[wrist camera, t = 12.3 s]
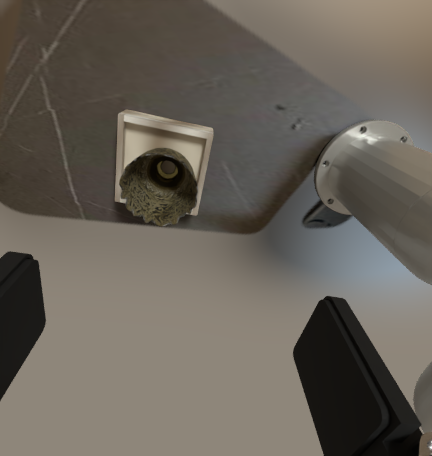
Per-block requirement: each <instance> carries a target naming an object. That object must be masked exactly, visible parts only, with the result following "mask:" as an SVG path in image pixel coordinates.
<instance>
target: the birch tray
mask: <svg viewBox="0 0 432 456" xmlns="http://www.w3.org/2000/svg"><path fill="white" fill-rule="evenodd" d="M213 135H214V134H213V128H210V127H205V126H200V125H196V124H191V123H187V122H182V121H177V120H173V119H168V118H164V117H159V116H155V115H150V114H145V113H141V112H136V111H132V110H125V111H123V112H121V113H119V114H118V132H117V158H116V184H115V202H121V203H126V199H121V192H122V189H121V187H120V185H119V180H120V178H121V175H122V174H123V172H124V171H125V170H124V169H125V167H126V166H127V165H128V164H129V163H131V162H132V161H133V160H134V159H136V158H137V157H139V156H140V155H142V154H143V153H145V152H147V151H149V150H151V149H155V148H170V149H173V150H175V151H177V152H179V153H181V154H182V155H183V156H184V157H185V158H186V159H187V160H188V161H189V163H190V164H191V166H192V168H193V171H194V174H195V178H196V182H197V186H198V193H197V205H196V207H195V208H193V209H192V212H191V215H197V213H198V208H199V203H200V199H201V194H202V189H203V184H204V179H205V174H206V169H207V164H208V159H209V154H210V149H211V144H212V140H213ZM161 168H162V170H163V172H165V173H167V174H171V173H173V172H174V170H175V165H174V163H172V162H170V161H164V162H163V163H162V165H161ZM186 214H188V213H186Z"/></svg>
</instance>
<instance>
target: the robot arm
mask: <svg viewBox="0 0 432 456" xmlns="http://www.w3.org/2000/svg"><path fill="white" fill-rule="evenodd" d="M360 128H361V130H360ZM324 161H325V163H323V162H324ZM314 173H315V174H314V183H315V189H316V191H317V194H318V196H319V197H320V199H321V200H322V202H323V203H324V204H325V205H326V206H327V207H329V208H330V209H331V210H333V211H335V212H338V213H341V214H346V215H353V216H354V217H355V218H356V219H357V220H359V222H360V223H361V224H362V225H363V226H364V227H366V228H367V230H368V231H369V232H371V234H373V235H374V236H375V237H376V238H377V239H378V240H379V241H380V242H381V243H382V244H383V245H384V246H385V247H386V248H387V249H388V250H389V251H390V252H391V253H392V254H393V255H394V256H395V257H396V258H397V259H398V260H399V261H400V262H401V263H402V264H403V265H404V266H405V267H406V268H407V269H408V270H409V271H410V272H412V273H413V274H414V275H415V276H416V277H418V278H419V279H421V280H423V281H424V282H426V283H428V284H431V285H432V153H430V152H428V151H425V150H422V149H419V148H417V147H414V143H413V141H412V139H411V137H410V135H409V134H408V133H407V132H406V130H404V129H403V128H402V127H400V126H399V125H397V124H394V123H392V122H389V121H385V120H367V121H361V122H359V123H356V124H353V125H351V126H349V127H348V128H346V129H344V130H342V131H341V132H340V133H339V134H337V135H336V136H335V137H334V138H333V139H332V140H331V141H330V142H329V143H328V144H327V145H326V147H325V148H324V150H323V151H322V153H321V155H320V157H319V159H318V161H317V164H316V168H315V172H314ZM45 322H46V319H45V311H44V303H43V294H42V287H41V278H40V270H39V263H38V261H37V260H34V259H33V256H32V255H30V254H24V253H17V252H7V253H6V254H5V255H3V256H2V257H1V258H0V400H1V399H2V397H3V395H4V394H5V392H6V390H7V389H8V387H9V386H10V384H11V382H12V381H13V379H14V377H15V376H16V374H17V373H18V371H19V369H20V368H21V366H22V364H23V363H24V361H25V359H26V358H27V356H28V355H29V353H30V351H31V350H32V348H33V346H34V345H35V343H36V341H37V340H38V338H39V336H40V335H41V333H42V331H43V329H44V327H45ZM293 357H294V360H295V364H296V367H297V370H298V373H299V377H300V380H301V383H302V386H303V389H304V393H305V396H306V399H307V402H308V405H309V409H310V412H311V415H312V418H313V422H314V425H315V428H316V431H317V435H318V438H319V441H320V444H321V447H322V451H323V454H324V456H432V362H431V363H430V364H429V365H428V367H427V368H426V369H425V370H424V372H423V373H422V374H421V376H420V377H419V379H418V381H417V383H416V386H415V390H414V398H413V401H414V408H415V412H416V414H415V413H414V411H413V410H412V408H411V406H410V405H409V403H408V401H407V400H406V398H405V396H404V395H403V393H402V391H401V390H400V388H399V387H398V385H397V383H396V382H395V380H394V378H393V377H392V375H391V374H390V372H389V370H388V369H387V367H386V366H385V364H384V362H383V360H382V359H381V357H380V355H379V354H378V352H377V351H376V349H375V347H374V346H373V344H372V343H371V341H370V339H369V337H368V336H367V334H366V333H365V331H364V329H363V328H362V326H361V324H360V323H359V321H358V320H357V318H356V316H355V315H354V313H353V311H352V310H351V308H350V306H349V305H348V303H347V302H346V300H345V299H343V298H337V297H331V296H326V297H325V298H324V299H323V300H320V301H319V302H318V304H317V306H316V308H315V310H314V312H313V314H312V315H311V317H310V319H309V321H308V323H307V325H306V327H305V329H304V330H303V333H302V334H301V336H300V338H299V339H298V341H297V343H296V345H295V347H294V351H293ZM420 426H421V428H422V430H423V432H424V434H422V433H421V431H420V429H419V427H420Z"/></svg>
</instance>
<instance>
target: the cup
mask: <svg viewBox="0 0 432 456" xmlns="http://www.w3.org/2000/svg"><path fill="white" fill-rule="evenodd" d="M164 161H170V162H172V163H174V165H175V170H174V172H173V173H171V174H167V173H165V172H163V170H162V168H161V165H162V163H163V162H164ZM124 170H125V171H124V172H123V174H122V175H121V178H120V180H119V185H120V187H121V189H122V192H121V199H126V208H127V209H128V210H129V211H132V213H133V216H136V217H137V216H139V217H141V216H143V220H144V221H145V223H148V222H150V221H152V222H154V223H155V224H156V225H158V226H160V227H163V226H166V225H169V224H172V225H174V224H177V223H178V220H179V218H180V217H182V216H185V214H186V213H188V214H189V215H190V214H191V212H192V209H193V208H195V207H196V205H197V193H198V186H197V182H196V178H195V174H194V171H193V168H192V166H191V164H190V163H189V161H188V160H187V159H186V158H185V157H184V156H183V155H182V154H181V153H179V152H177V151H175V150H173V149H170V148H155V149H151V150H149V151H147V152H145V153H143V154H142V155H140V156H139V157H137V158H136V159H134V160H133V161H132V162H131V163H129V164H128V165H127V166H126V167H125V169H124Z"/></svg>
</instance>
